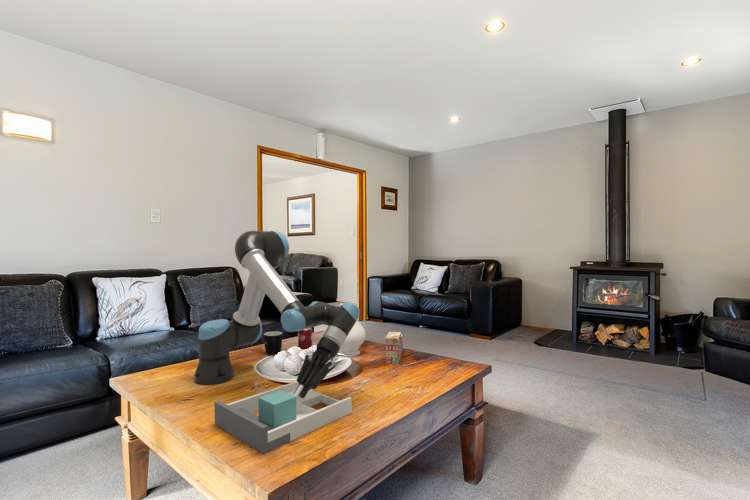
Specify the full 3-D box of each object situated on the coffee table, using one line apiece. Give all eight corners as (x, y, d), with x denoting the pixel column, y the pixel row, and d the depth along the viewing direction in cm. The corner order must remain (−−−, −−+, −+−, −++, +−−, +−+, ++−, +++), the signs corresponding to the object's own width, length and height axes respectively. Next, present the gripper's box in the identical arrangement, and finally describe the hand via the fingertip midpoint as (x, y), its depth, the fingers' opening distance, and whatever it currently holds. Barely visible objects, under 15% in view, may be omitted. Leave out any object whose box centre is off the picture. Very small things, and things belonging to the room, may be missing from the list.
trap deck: (301, 392, 149) (301, 374, 149) (351, 412, 132) (351, 391, 132) (214, 424, 123) (214, 402, 123) (262, 454, 106) (262, 428, 106)
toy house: (390, 351, 206) (390, 327, 205) (402, 351, 205) (403, 327, 204) (385, 363, 185) (385, 337, 184) (398, 364, 184) (398, 337, 183)
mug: (263, 351, 203) (263, 332, 203) (281, 350, 206) (281, 330, 206) (264, 358, 192) (264, 337, 191) (283, 356, 194) (283, 336, 194)
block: (280, 411, 126) (280, 390, 126) (296, 419, 121) (296, 396, 121) (258, 420, 120) (258, 397, 120) (274, 428, 115) (274, 404, 115)
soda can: (300, 354, 199) (300, 330, 198) (296, 350, 205) (296, 327, 205) (314, 352, 202) (314, 329, 202) (309, 349, 208) (309, 326, 208)
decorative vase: (355, 360, 190) (355, 307, 189) (323, 355, 197) (323, 305, 196) (371, 350, 206) (371, 302, 205) (340, 346, 213) (340, 300, 212)
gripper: (350, 351, 134) (312, 417, 122) (324, 345, 143) (286, 405, 131) (339, 339, 130) (299, 406, 118) (312, 333, 139) (272, 394, 126)
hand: (292, 405), depth 124 cm, fingers closed
